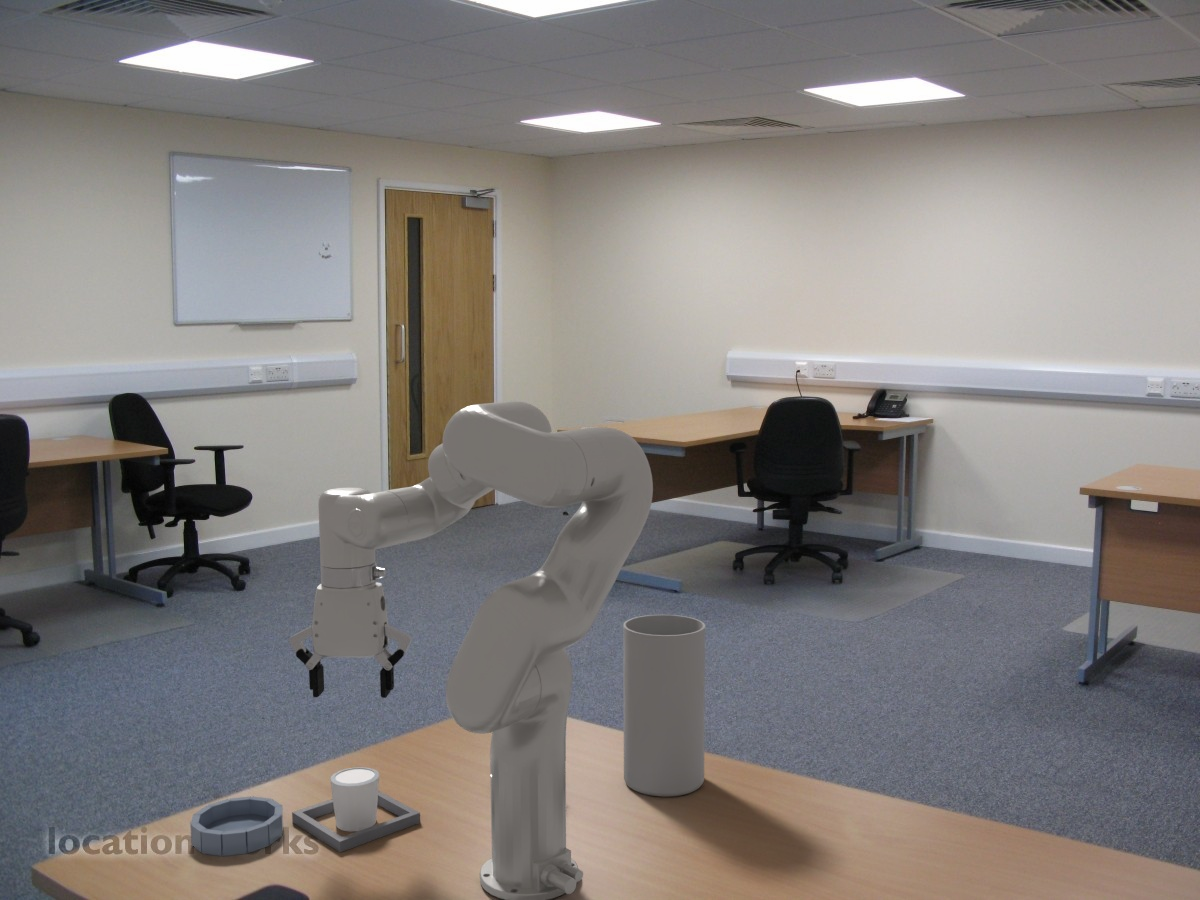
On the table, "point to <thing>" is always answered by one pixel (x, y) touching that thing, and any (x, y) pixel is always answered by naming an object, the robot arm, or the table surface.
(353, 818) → the white cup
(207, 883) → the table surface
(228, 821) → the bowl
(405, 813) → the grey square frame
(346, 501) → the robot arm
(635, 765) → the cylinder vase
